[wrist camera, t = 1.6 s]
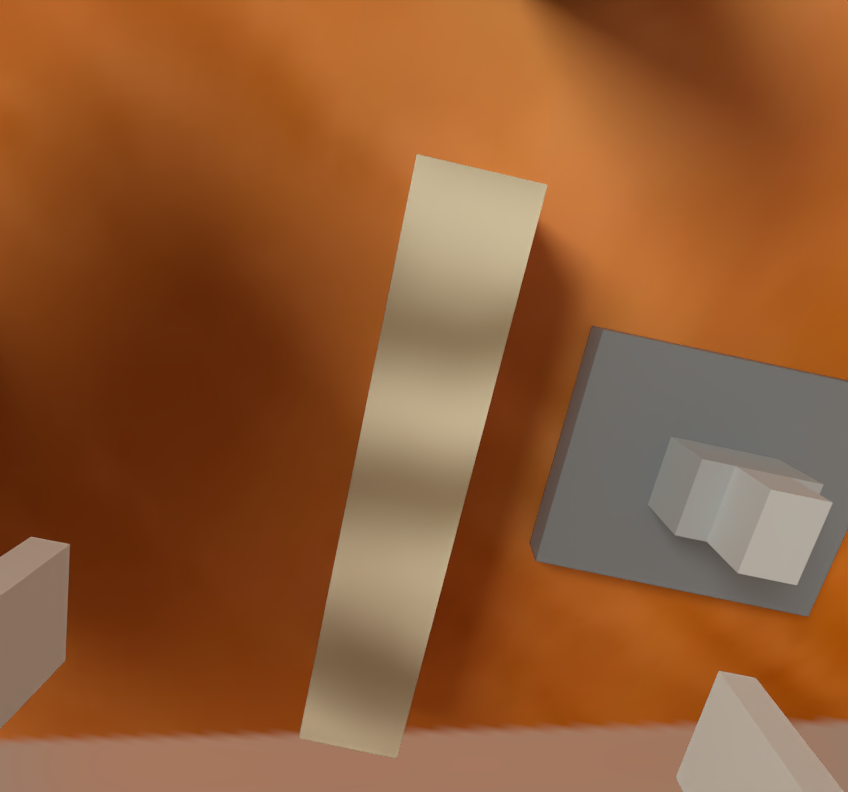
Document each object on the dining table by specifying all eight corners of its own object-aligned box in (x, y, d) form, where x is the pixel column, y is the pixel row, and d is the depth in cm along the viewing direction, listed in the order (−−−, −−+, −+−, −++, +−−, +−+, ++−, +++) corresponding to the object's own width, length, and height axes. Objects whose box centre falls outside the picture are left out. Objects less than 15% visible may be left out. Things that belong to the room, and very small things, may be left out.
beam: (405, 665, 26) (397, 758, 21) (325, 648, 25) (298, 738, 21) (521, 204, 20) (547, 185, 15) (422, 181, 20) (416, 153, 15)
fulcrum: (529, 542, 23) (559, 633, 18) (591, 325, 21) (650, 347, 15) (785, 595, 24) (898, 701, 18) (875, 386, 21) (1040, 430, 15)
